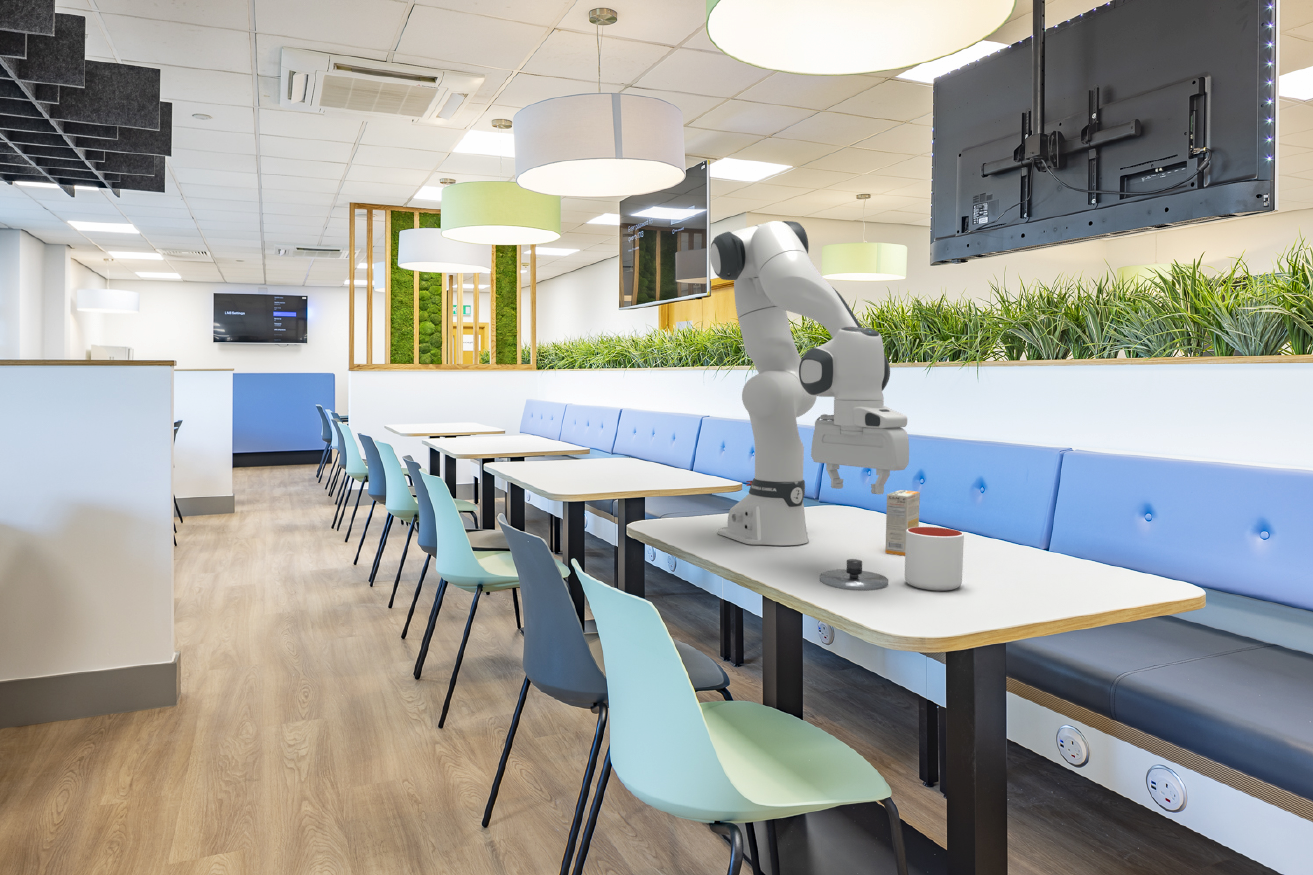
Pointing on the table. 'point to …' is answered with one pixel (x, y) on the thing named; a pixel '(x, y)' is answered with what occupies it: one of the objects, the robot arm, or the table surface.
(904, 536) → the supplement box
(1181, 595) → the table surface
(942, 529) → the cup
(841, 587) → the lid
